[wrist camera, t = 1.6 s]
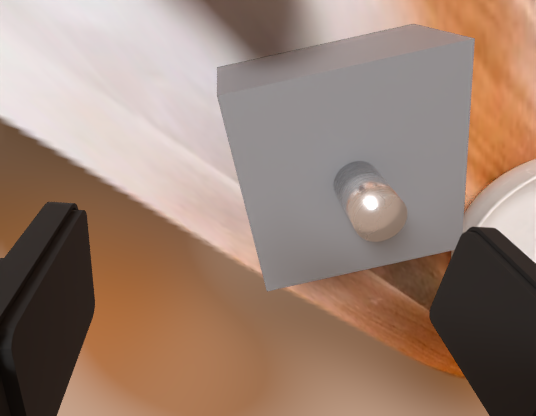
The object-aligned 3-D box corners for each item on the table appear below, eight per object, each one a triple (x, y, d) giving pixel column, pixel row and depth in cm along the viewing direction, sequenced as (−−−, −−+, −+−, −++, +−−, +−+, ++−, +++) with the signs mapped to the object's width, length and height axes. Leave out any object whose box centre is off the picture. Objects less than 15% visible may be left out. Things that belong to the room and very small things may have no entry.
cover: (413, 23, 36) (528, 51, 22) (415, 196, 45) (498, 289, 31) (217, 67, 36) (216, 120, 23) (257, 231, 45) (274, 339, 31)
